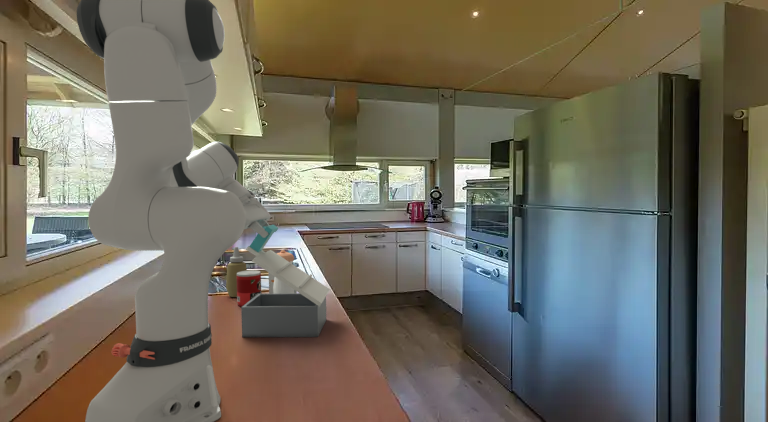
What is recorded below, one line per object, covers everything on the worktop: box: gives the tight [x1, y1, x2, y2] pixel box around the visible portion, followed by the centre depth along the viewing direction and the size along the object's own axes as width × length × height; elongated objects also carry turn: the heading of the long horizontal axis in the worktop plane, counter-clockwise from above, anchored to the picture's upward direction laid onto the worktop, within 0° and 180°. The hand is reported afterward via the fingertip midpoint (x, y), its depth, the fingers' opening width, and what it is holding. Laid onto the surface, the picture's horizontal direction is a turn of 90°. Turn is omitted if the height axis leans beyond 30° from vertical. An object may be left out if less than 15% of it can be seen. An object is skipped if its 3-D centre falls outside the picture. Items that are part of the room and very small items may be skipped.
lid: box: [245, 224, 331, 307], centre depth 110 cm, size 15×25×9 cm
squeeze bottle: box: [225, 246, 248, 298], centre depth 146 cm, size 8×8×18 cm
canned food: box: [236, 269, 262, 308], centre depth 135 cm, size 8×8×11 cm
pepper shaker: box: [273, 249, 295, 294], centre depth 130 cm, size 7×7×19 cm
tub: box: [240, 292, 327, 338], centre depth 111 cm, size 14×20×8 cm
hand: (269, 235), depth 110 cm, fingers closed on lid, 3 cm apart
